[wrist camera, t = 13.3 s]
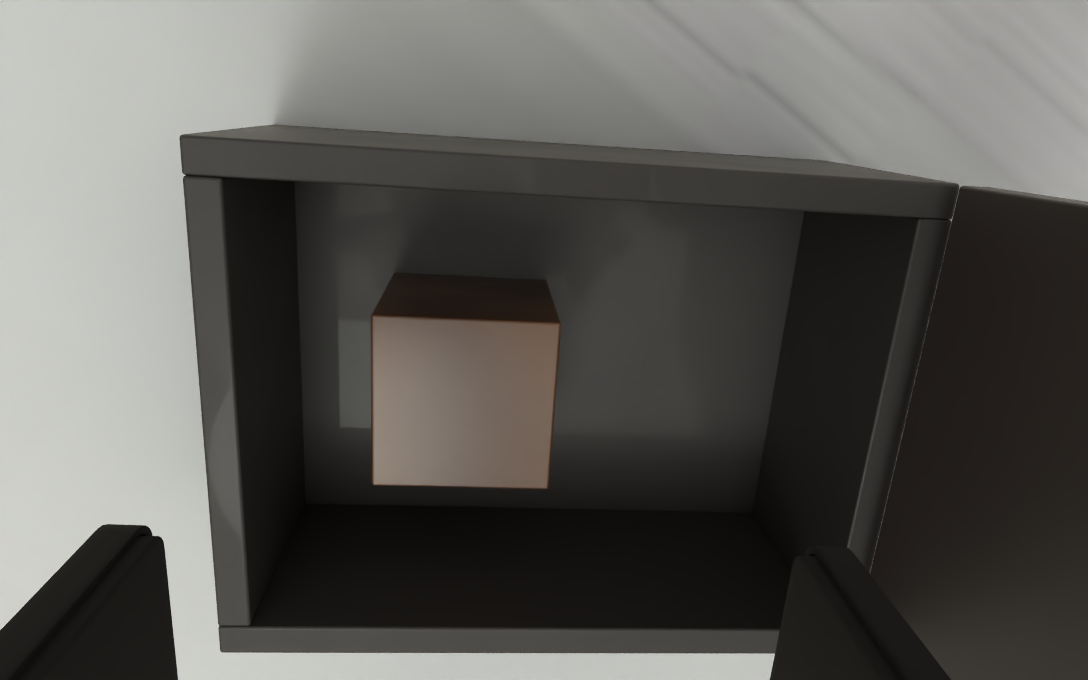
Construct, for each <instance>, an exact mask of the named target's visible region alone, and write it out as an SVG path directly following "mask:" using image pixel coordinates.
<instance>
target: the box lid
mask: <svg viewBox="0 0 1088 680" xmlns="http://www.w3.org/2000/svg"><path fill="white" fill-rule="evenodd" d="M870 575H871V576H872V577H873V579H874V580H875V581H876V583H877V584H878V585H879V587H880V588H881V589H882V590H883V592H884V593H885V594H886V596H887V597H888V598H889V600H890V601H891V602H892V603H893V605H894V606H895V607H896V609H897V610H898V611H899V613H900V614H901V615H902V616H903V618H904V619H905V620H906V622H907V623H908V624H909V626H910V627H911V628H912V629H913V631H914V632H915V633H916V635H917V636H918V637H919V639H920V640H921V641H922V642H923V644H924V645H925V646H926V648H927V649H928V650H929V651H930V653H931V654H932V655H933V657H934V658H935V659H936V661H937V662H938V663H939V664H940V666H941V667H942V668H943V670H944V671H945V672H946V674H947V675H948V676H949V677H950V679H951V680H1088V202H1085V201H1078V200H1071V199H1065V198H1058V197H1051V196H1044V195H1038V194H1031V193H1024V192H1018V191H1011V190H1004V189H997V188H991V187H973V186H962V187H960V189H959V194H958V198H957V202H956V207H955V211H954V215H953V220H952V224H951V228H950V232H949V237H948V241H947V245H946V250H945V254H944V258H943V262H942V267H941V271H940V275H939V280H938V284H937V288H936V293H935V297H934V301H933V305H932V310H931V314H930V318H929V323H928V327H927V331H926V335H925V340H924V344H923V348H922V353H921V357H920V361H919V366H918V370H917V374H916V378H915V383H914V387H913V391H912V396H911V400H910V404H909V408H908V413H907V417H906V421H905V426H904V430H903V434H902V439H901V443H900V447H899V451H898V456H897V460H896V464H895V469H894V473H893V477H892V481H891V486H890V490H889V494H888V499H887V503H886V507H885V512H884V516H883V520H882V524H881V529H880V533H879V537H878V542H877V546H876V550H875V554H874V559H873V563H872V567H871V572H870Z"/></svg>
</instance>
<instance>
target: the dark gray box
mask: <svg viewBox="0 0 1088 680" xmlns="http://www.w3.org/2000/svg"><path fill="white" fill-rule="evenodd" d="M180 149H181V162H182V172H183V174H185V175H186V176H184V178H183V184H184V197H185V209H186V222H187V235H188V247H189V260H190V272H191V285H192V298H193V310H194V323H195V335H196V348H197V361H198V373H199V386H200V398H201V411H202V424H203V436H204V449H205V461H206V474H207V487H208V499H209V512H210V524H211V537H212V550H213V562H214V575H215V587H216V600H217V613H218V624H219V640H220V651H221V652H282V653H775V652H776V647H777V641H778V636H779V631H780V626H781V621H782V616H783V611H784V606H785V601H786V596H787V590H788V585H789V580H790V575H791V570H792V565H793V562H794V559H795V558H796V557H797V556H804V553H805V551H806V550H807V548H809V547H811V546H820V547H846V548H849V549H850V550H851V551H852V552H853V553H854V554H855V555H856V557H857V558H858V559H859V561H860V562H861V563H862V564H863V566H864V567H865V568H866V570H867V571H868V572H869V574H870V571H871V566H872V562H873V558H874V553H875V549H876V545H877V541H878V536H879V532H880V528H881V523H882V519H883V515H884V510H885V506H886V502H887V498H888V493H889V489H890V485H891V480H892V476H893V472H894V468H895V463H896V459H897V455H898V450H899V446H900V442H901V437H902V433H903V429H904V425H905V420H906V416H907V412H908V407H909V403H910V399H911V394H912V390H913V386H914V382H915V377H916V373H917V369H918V364H919V360H920V356H921V352H922V347H923V343H924V339H925V334H926V330H927V326H928V321H929V317H930V313H931V309H932V304H933V300H934V296H935V291H936V287H937V283H938V278H939V274H940V270H941V266H942V261H943V257H944V253H945V248H946V244H947V240H948V236H949V231H950V227H951V221H950V220H949V219H952V217H953V213H954V208H955V204H956V200H957V196H958V191H959V185H958V184H956V183H950V182H945V181H939V180H933V179H927V178H922V177H916V176H910V175H904V174H899V173H893V172H887V171H881V170H876V169H870V168H864V167H859V166H853V165H847V164H841V163H834V162H829V161H821V160H806V159H791V158H775V157H760V156H745V155H729V154H714V153H699V152H684V151H668V150H653V149H638V148H622V147H607V146H592V145H576V144H561V143H546V142H530V141H515V140H500V139H484V138H469V137H454V136H438V135H423V134H408V133H392V132H377V131H362V130H346V129H331V128H316V127H300V126H285V125H268V126H257V127H248V128H239V129H230V130H221V131H211V132H202V133H193V134H184V135H181V136H180ZM394 273H407V274H428V275H448V276H469V277H490V278H510V279H531V280H545V281H547V284H548V287H549V290H550V293H551V296H552V299H553V302H554V305H555V308H556V311H557V314H558V317H559V320H560V323H561V335H560V348H559V361H558V374H557V387H556V400H555V413H554V426H553V439H552V452H551V465H550V478H549V487H548V489H514V488H470V487H425V486H380V485H372V482H371V315H372V313H373V311H374V309H375V308H376V306H377V304H378V302H379V300H380V298H381V296H382V294H383V293H384V291H385V289H386V287H387V285H388V283H389V281H390V280H391V278H392V276H393V274H394Z"/></svg>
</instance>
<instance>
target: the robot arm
mask: <svg viewBox="0 0 1088 680" xmlns="http://www.w3.org/2000/svg"><path fill="white" fill-rule="evenodd" d="M0 680H178V676H177V666H176V656H175V646H174V637H173V627H172V617H171V607H170V598H169V588H168V578H167V568H166V559H165V549H164V543H163V540H162V538H161V537H159V536H152V532H151V530H150V528H149V527H147V526H143V525H111V524H107V525H102V526H101V527H100V528H98V529H97V530H96V531H95V532H94V533H93V534H92V535H91V536H90V537H89V538H88V540H87V541H86V542H85V543H84V544H83V545H82V546H81V547H80V548H79V549H78V550H77V551H76V552H75V553H74V554H73V555H72V556H71V557H70V558H69V559H68V560H67V561H66V563H65V564H64V565H63V566H62V567H61V568H60V569H59V570H58V571H57V572H56V573H55V574H54V575H53V576H52V577H51V578H50V579H49V580H48V581H47V582H46V583H45V584H44V585H43V587H42V588H41V589H40V590H39V591H38V592H37V593H36V594H35V595H34V596H33V597H32V598H31V599H30V600H29V601H28V602H27V603H26V604H25V605H24V606H23V607H22V608H21V610H20V611H19V612H18V613H17V614H16V615H15V616H14V617H13V618H12V619H11V620H10V621H9V622H8V623H7V624H6V625H5V626H4V627H3V628H2V629H1V630H0ZM770 680H951V679H950V677H949V676H948V675H947V674H946V672H945V671H944V670H943V668H942V667H941V666H940V664H939V663H938V662H937V661H936V659H935V658H934V657H933V655H932V654H931V653H930V651H929V650H928V649H927V648H926V646H925V645H924V644H923V642H922V641H921V640H920V639H919V637H918V636H917V635H916V633H915V632H914V631H913V629H912V628H911V627H910V626H909V624H908V623H907V622H906V620H905V619H904V618H903V616H902V615H901V614H900V613H899V611H898V610H897V609H896V607H895V606H894V605H893V603H892V602H891V601H890V600H889V598H888V597H887V596H886V594H885V593H884V592H883V590H882V589H881V588H880V587H879V585H878V584H877V583H876V581H875V580H874V579H873V577H872V576H871V575H870V574H869V572H868V571H867V570H866V568H865V567H864V566H863V564H862V563H861V562H860V561H859V559H858V558H857V557H856V555H855V554H854V553H853V552H852V551H851V550H850V549H849V548H846V547H820V546H811V547H809V548H807V550H806V551H805V553H804V556H797V557H796V558H795V559H794V562H793V565H792V570H791V575H790V580H789V585H788V590H787V596H786V601H785V606H784V611H783V616H782V621H781V626H780V631H779V636H778V641H777V647H776V652H775V657H774V662H773V667H772V672H771V677H770Z"/></svg>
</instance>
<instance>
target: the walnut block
mask: <svg viewBox="0 0 1088 680" xmlns="http://www.w3.org/2000/svg"><path fill="white" fill-rule="evenodd" d="M560 335H561V323H560V320H559V317H558V314H557V311H556V308H555V305H554V302H553V299H552V296H551V293H550V290H549V287H548V284H547V281H545V280H531V279H510V278H490V277H469V276H448V275H428V274H407V273H394V274H393V276H392V278H391V280H390V281H389V283H388V285H387V287H386V289H385V291H384V293H383V294H382V296H381V298H380V300H379V302H378V304H377V306H376V308H375V309H374V311H373V313H372V315H371V482H372V485H380V486H425V487H470V488H514V489H548V487H549V478H550V465H551V452H552V439H553V426H554V413H555V400H556V387H557V374H558V361H559V348H560Z"/></svg>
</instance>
